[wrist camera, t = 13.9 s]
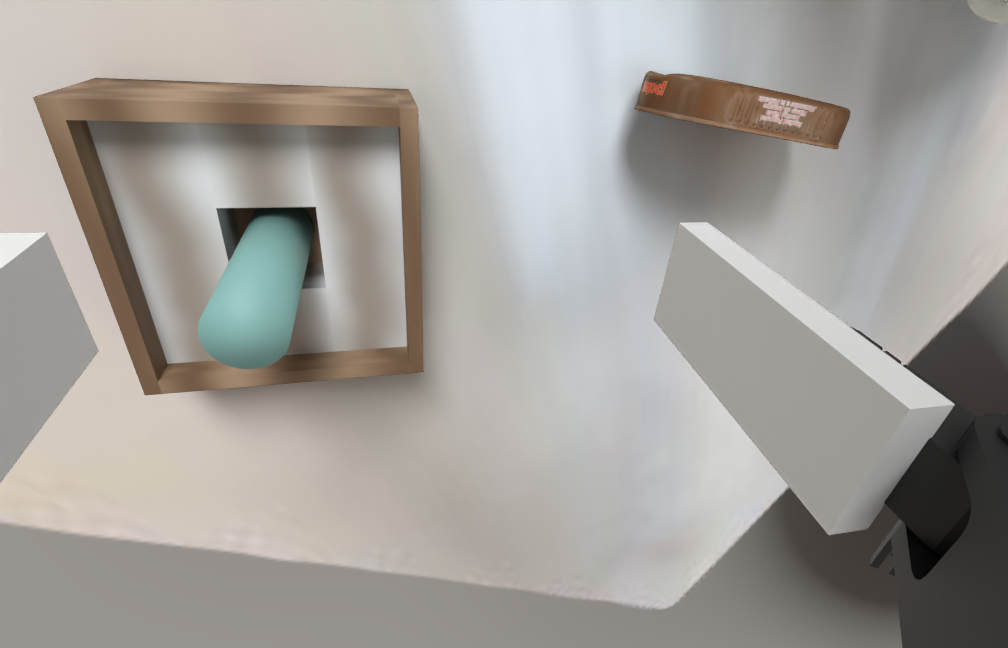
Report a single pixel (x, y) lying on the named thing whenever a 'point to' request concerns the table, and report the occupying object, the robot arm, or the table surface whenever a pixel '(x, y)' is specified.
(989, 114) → the table surface
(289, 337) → the peg
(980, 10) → the pitcher
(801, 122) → the tin
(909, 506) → the robot arm
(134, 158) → the bore box
